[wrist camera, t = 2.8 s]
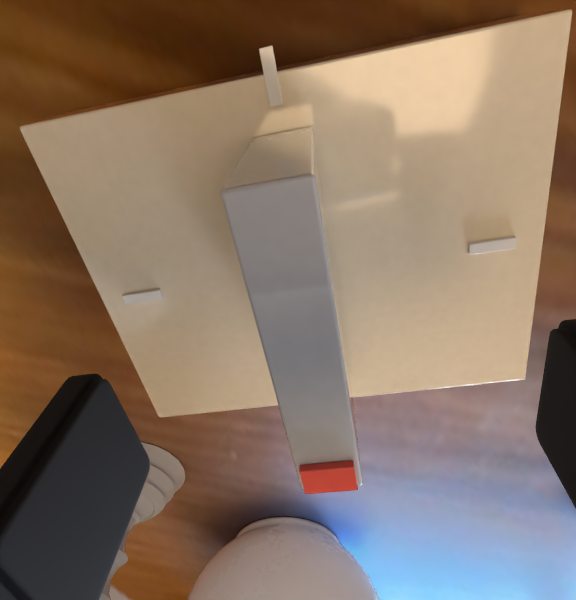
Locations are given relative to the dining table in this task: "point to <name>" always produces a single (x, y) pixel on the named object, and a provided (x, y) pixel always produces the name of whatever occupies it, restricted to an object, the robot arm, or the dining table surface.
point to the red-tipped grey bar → (296, 302)
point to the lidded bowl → (283, 566)
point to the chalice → (150, 498)
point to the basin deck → (327, 209)
